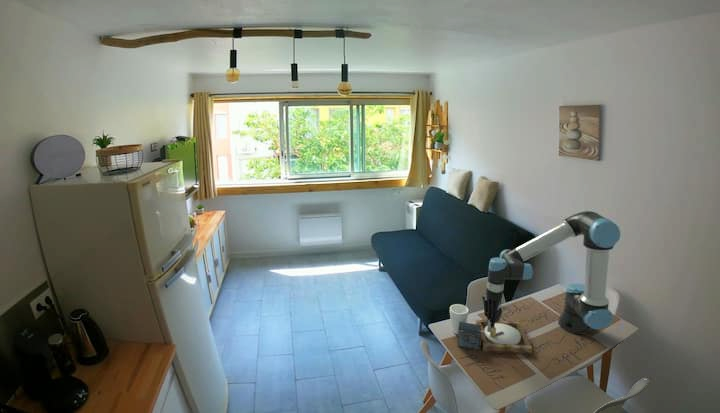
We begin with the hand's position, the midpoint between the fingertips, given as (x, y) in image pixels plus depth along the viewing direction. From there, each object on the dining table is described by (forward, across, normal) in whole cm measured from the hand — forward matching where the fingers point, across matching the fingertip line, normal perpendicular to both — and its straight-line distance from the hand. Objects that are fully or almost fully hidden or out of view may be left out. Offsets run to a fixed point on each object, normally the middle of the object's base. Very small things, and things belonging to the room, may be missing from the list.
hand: (490, 331), depth 185 cm
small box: (+6, -1, -12) cm, 13 cm away
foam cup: (+6, -13, -9) cm, 17 cm away
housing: (+5, +2, +6) cm, 8 cm away
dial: (+3, +2, +6) cm, 7 cm away
